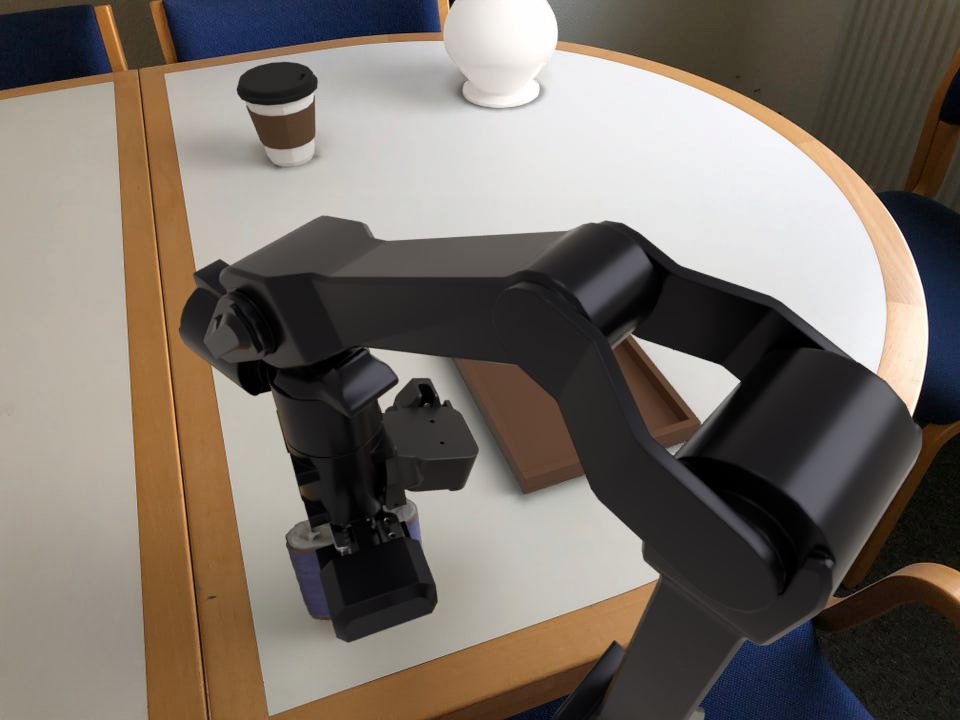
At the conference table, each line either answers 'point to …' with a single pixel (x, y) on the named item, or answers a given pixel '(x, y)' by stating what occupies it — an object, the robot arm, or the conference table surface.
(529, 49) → the decorative vase
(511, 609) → the conference table surface
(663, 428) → the serving tray
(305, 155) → the coffee cup
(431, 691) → the conference table surface
